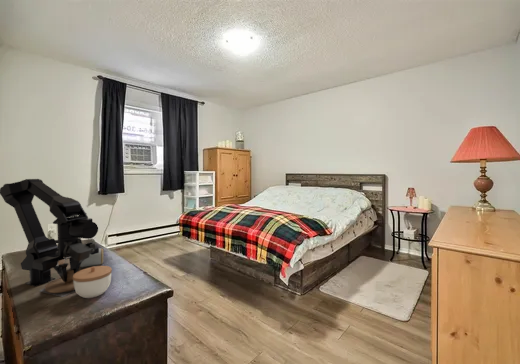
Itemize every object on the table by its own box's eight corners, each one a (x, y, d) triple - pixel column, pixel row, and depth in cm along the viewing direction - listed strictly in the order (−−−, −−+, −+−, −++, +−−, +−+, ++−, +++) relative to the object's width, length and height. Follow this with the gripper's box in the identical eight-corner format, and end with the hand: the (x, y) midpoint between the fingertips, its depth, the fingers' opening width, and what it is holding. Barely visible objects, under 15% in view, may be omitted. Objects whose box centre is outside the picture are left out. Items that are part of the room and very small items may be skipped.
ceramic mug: (103, 266, 105) (103, 249, 105) (80, 270, 101) (79, 252, 101) (104, 259, 114) (103, 243, 114) (82, 262, 110) (82, 245, 110)
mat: (38, 292, 83) (38, 290, 83) (75, 277, 94) (75, 276, 94) (62, 298, 79) (62, 296, 79) (97, 282, 90) (97, 281, 90)
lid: (35, 289, 82) (35, 275, 82) (75, 274, 95) (75, 262, 94) (62, 295, 78) (61, 281, 78) (100, 278, 90) (99, 266, 90)
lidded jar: (105, 284, 89) (105, 258, 88) (117, 293, 82) (116, 266, 82) (69, 295, 81) (68, 267, 80) (78, 307, 74) (78, 276, 73)
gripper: (53, 246, 74) (55, 296, 75) (109, 232, 92) (110, 272, 93) (30, 242, 78) (32, 290, 78) (88, 229, 95) (89, 268, 96)
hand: (69, 279), depth 86 cm, fingers closed on lid, 3 cm apart
